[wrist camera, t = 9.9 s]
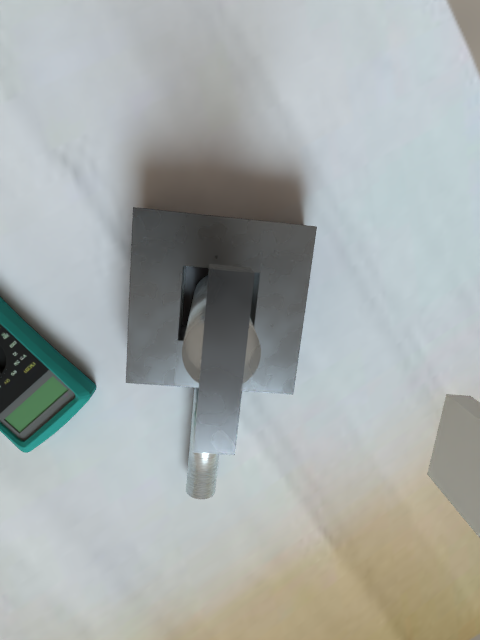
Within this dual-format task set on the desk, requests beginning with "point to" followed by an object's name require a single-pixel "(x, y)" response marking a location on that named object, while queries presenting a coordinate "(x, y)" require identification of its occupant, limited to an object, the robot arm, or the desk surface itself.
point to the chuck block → (168, 294)
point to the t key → (220, 353)
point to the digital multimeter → (35, 384)
